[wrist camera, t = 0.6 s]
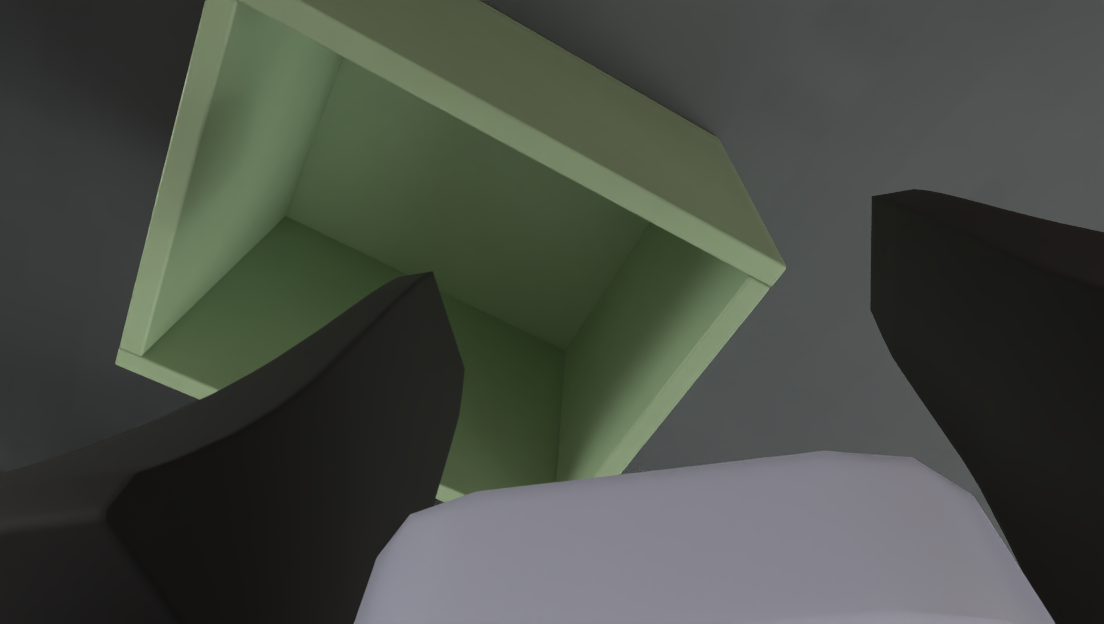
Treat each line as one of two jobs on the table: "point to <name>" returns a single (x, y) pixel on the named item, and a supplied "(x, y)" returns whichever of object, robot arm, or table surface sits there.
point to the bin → (446, 223)
